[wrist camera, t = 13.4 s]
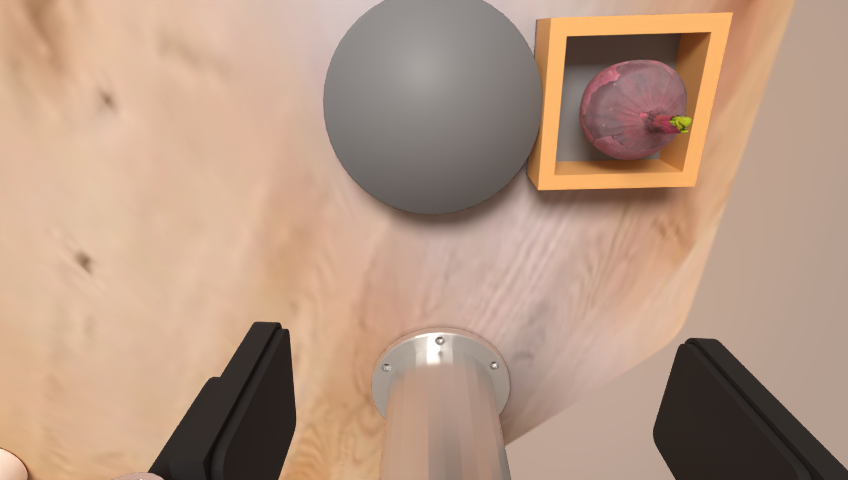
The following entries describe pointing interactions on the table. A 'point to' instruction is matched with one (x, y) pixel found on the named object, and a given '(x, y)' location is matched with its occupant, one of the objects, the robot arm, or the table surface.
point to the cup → (11, 467)
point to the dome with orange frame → (501, 100)
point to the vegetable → (634, 109)
